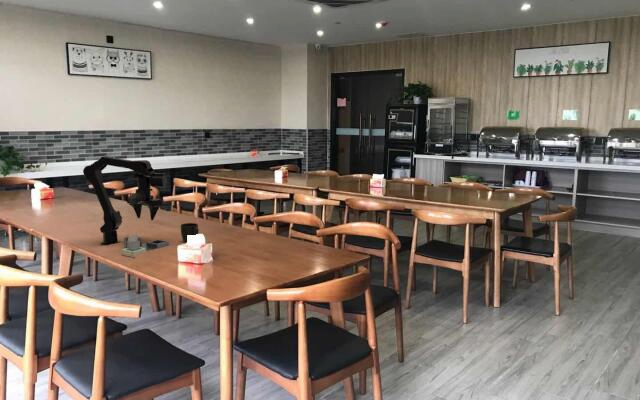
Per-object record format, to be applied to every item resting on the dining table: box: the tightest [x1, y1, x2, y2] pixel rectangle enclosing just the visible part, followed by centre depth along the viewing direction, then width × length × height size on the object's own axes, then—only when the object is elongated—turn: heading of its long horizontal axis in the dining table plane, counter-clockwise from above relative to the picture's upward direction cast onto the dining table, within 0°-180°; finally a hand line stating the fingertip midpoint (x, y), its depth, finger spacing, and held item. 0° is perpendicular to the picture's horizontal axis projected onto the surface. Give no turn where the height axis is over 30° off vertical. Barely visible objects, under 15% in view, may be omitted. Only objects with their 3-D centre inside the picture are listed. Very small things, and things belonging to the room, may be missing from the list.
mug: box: [180, 222, 200, 244], centre depth 258 cm, size 8×12×10 cm
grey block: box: [127, 234, 140, 251], centre depth 237 cm, size 4×4×8 cm
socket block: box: [123, 236, 170, 252], centre depth 248 cm, size 14×15×6 cm
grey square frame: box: [120, 247, 147, 259], centre depth 237 cm, size 8×8×3 cm
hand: (145, 219), depth 255 cm, fingers open, 9 cm apart
